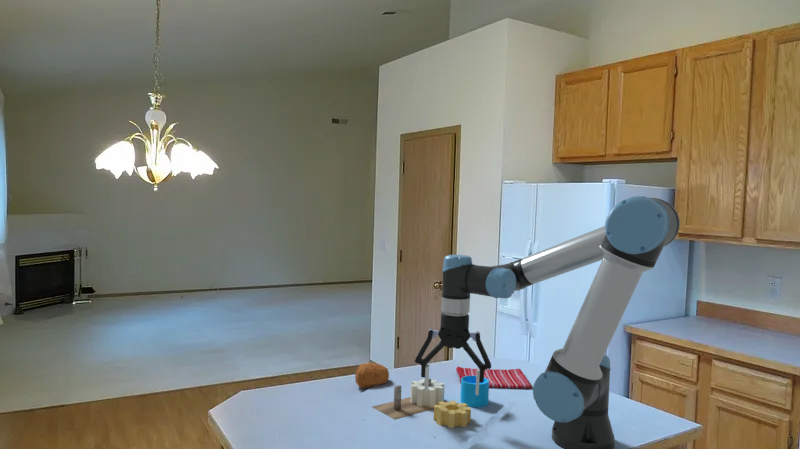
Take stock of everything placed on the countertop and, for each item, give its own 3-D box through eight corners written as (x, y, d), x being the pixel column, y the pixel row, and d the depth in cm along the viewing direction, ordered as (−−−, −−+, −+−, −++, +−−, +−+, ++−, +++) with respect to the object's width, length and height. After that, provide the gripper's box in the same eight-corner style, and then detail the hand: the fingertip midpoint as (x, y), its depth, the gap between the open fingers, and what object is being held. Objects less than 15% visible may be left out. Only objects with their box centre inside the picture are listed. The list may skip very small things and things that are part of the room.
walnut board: (452, 408, 160) (453, 381, 160) (394, 424, 148) (395, 395, 147) (427, 397, 169) (428, 371, 169) (371, 411, 156) (372, 384, 156)
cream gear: (449, 399, 163) (450, 383, 163) (434, 410, 155) (435, 392, 155) (420, 393, 168) (420, 377, 168) (404, 403, 160) (404, 386, 160)
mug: (490, 412, 158) (491, 384, 158) (462, 412, 158) (462, 384, 158) (483, 398, 170) (484, 371, 170) (457, 397, 170) (458, 371, 170)
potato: (351, 383, 181) (352, 360, 181) (384, 380, 184) (385, 358, 184) (358, 392, 172) (358, 368, 172) (392, 389, 175) (393, 366, 175)
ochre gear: (478, 427, 147) (478, 409, 147) (450, 436, 141) (451, 417, 141) (452, 415, 155) (453, 398, 155) (426, 423, 149) (426, 405, 149)
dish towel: (455, 372, 197) (455, 365, 197) (522, 374, 196) (522, 367, 196) (459, 388, 180) (459, 380, 179) (532, 391, 179) (532, 383, 179)
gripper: (501, 313, 149) (498, 390, 150) (410, 307, 152) (407, 382, 153) (503, 319, 142) (499, 400, 143) (407, 312, 145) (403, 392, 146)
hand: (451, 391), depth 148 cm, fingers open, 13 cm apart
